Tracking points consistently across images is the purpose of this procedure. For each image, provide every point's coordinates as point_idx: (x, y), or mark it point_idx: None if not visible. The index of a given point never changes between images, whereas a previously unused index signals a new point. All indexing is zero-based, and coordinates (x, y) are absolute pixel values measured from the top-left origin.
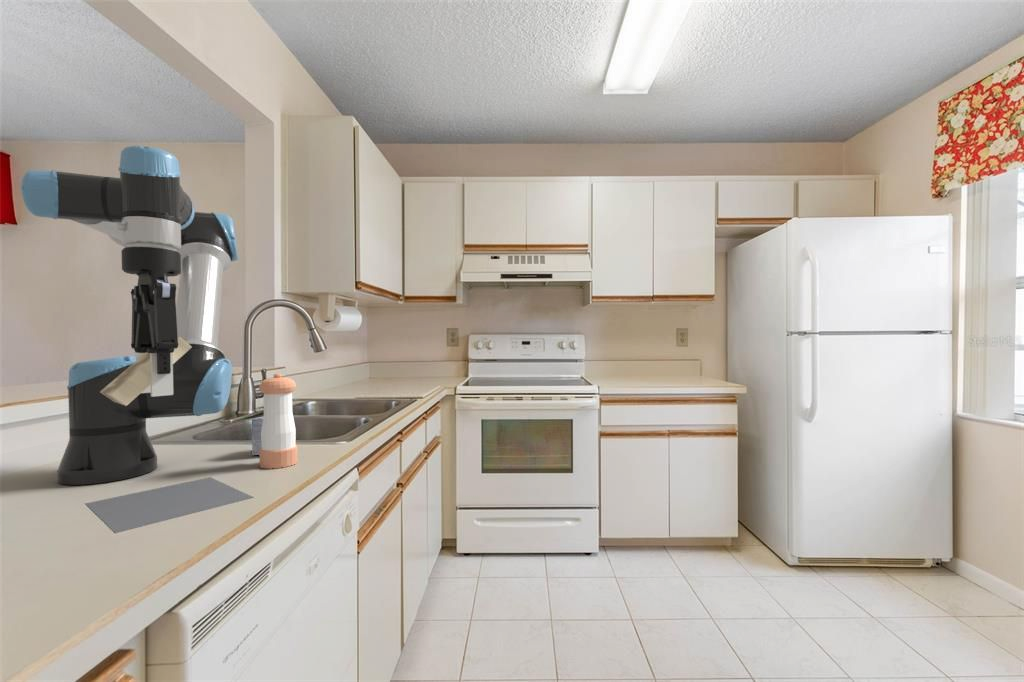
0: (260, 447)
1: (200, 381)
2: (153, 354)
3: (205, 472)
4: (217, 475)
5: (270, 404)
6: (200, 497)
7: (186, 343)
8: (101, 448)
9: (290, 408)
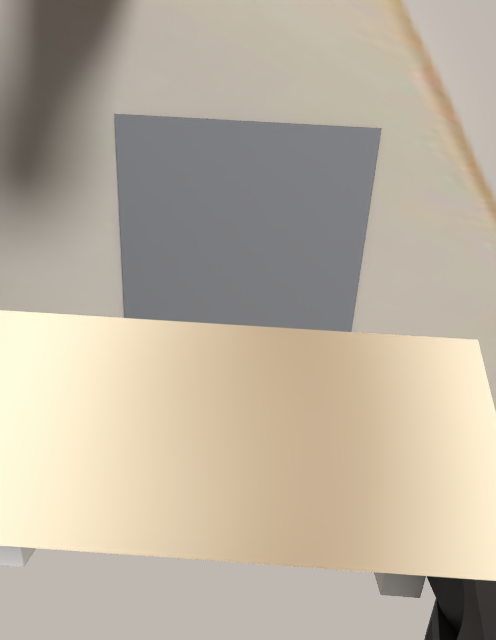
0: None
1: None
2: (421, 581)
3: (35, 93)
4: (94, 86)
5: None
6: (274, 203)
7: (489, 421)
8: None
9: None
